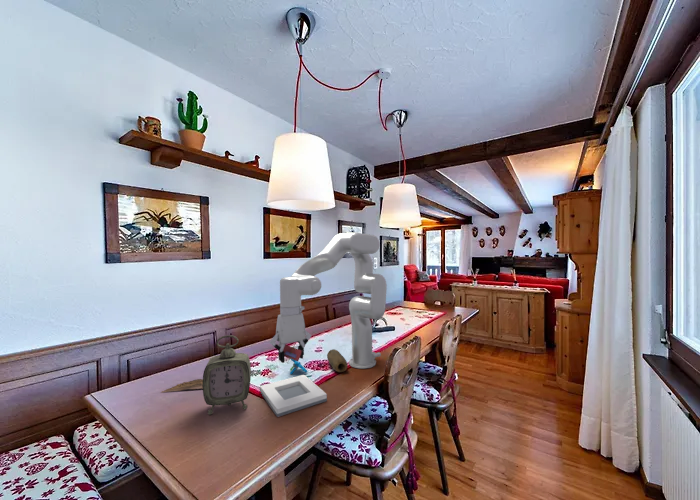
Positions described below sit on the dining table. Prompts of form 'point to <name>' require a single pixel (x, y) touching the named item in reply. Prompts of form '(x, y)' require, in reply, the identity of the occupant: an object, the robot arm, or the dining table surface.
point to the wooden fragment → (187, 386)
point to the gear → (296, 365)
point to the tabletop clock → (227, 377)
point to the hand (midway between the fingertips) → (291, 359)
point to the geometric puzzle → (292, 352)
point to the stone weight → (337, 360)
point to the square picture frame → (292, 395)
